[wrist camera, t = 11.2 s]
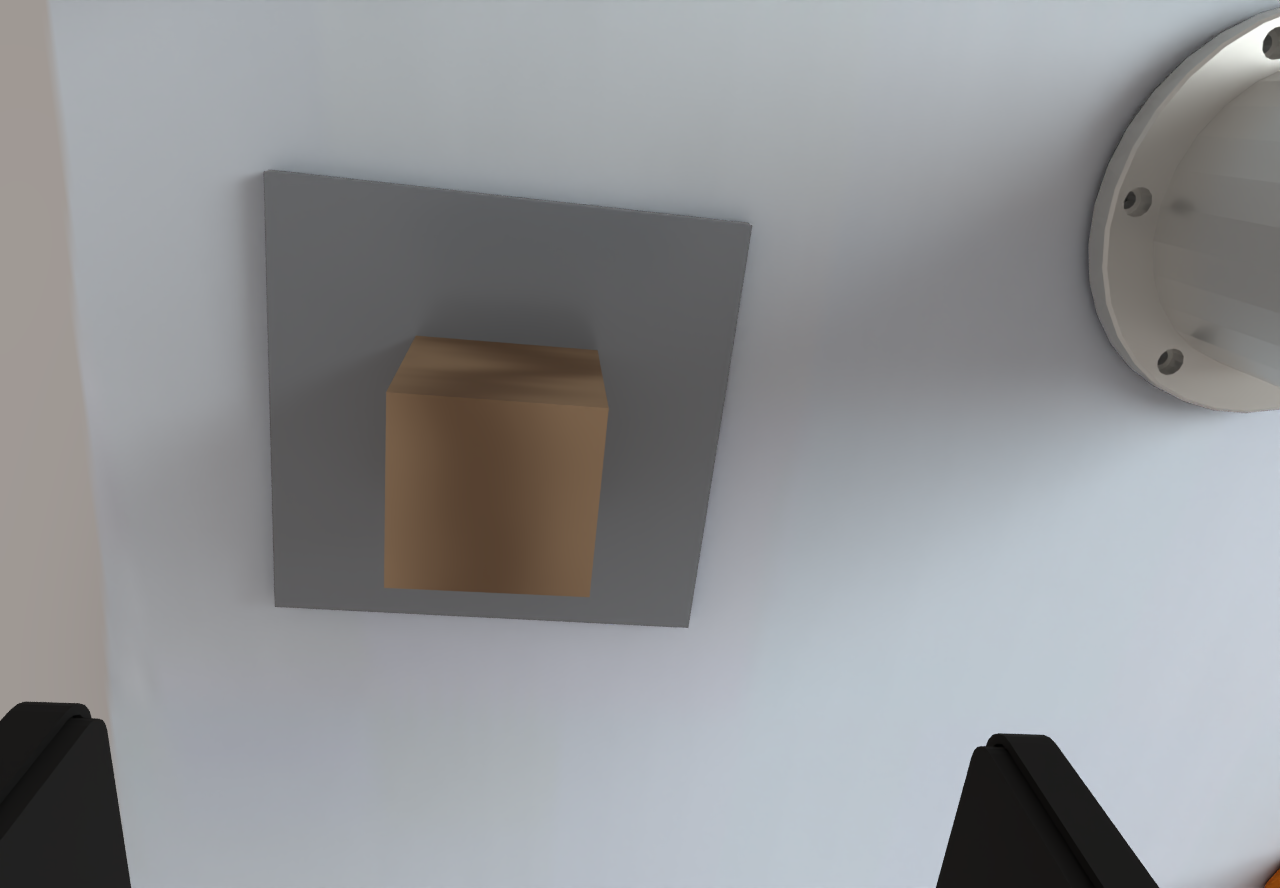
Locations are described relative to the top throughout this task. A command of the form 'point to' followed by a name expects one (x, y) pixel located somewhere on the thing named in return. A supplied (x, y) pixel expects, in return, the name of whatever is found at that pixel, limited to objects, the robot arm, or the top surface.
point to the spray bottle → (1274, 881)
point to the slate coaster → (496, 312)
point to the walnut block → (493, 467)
